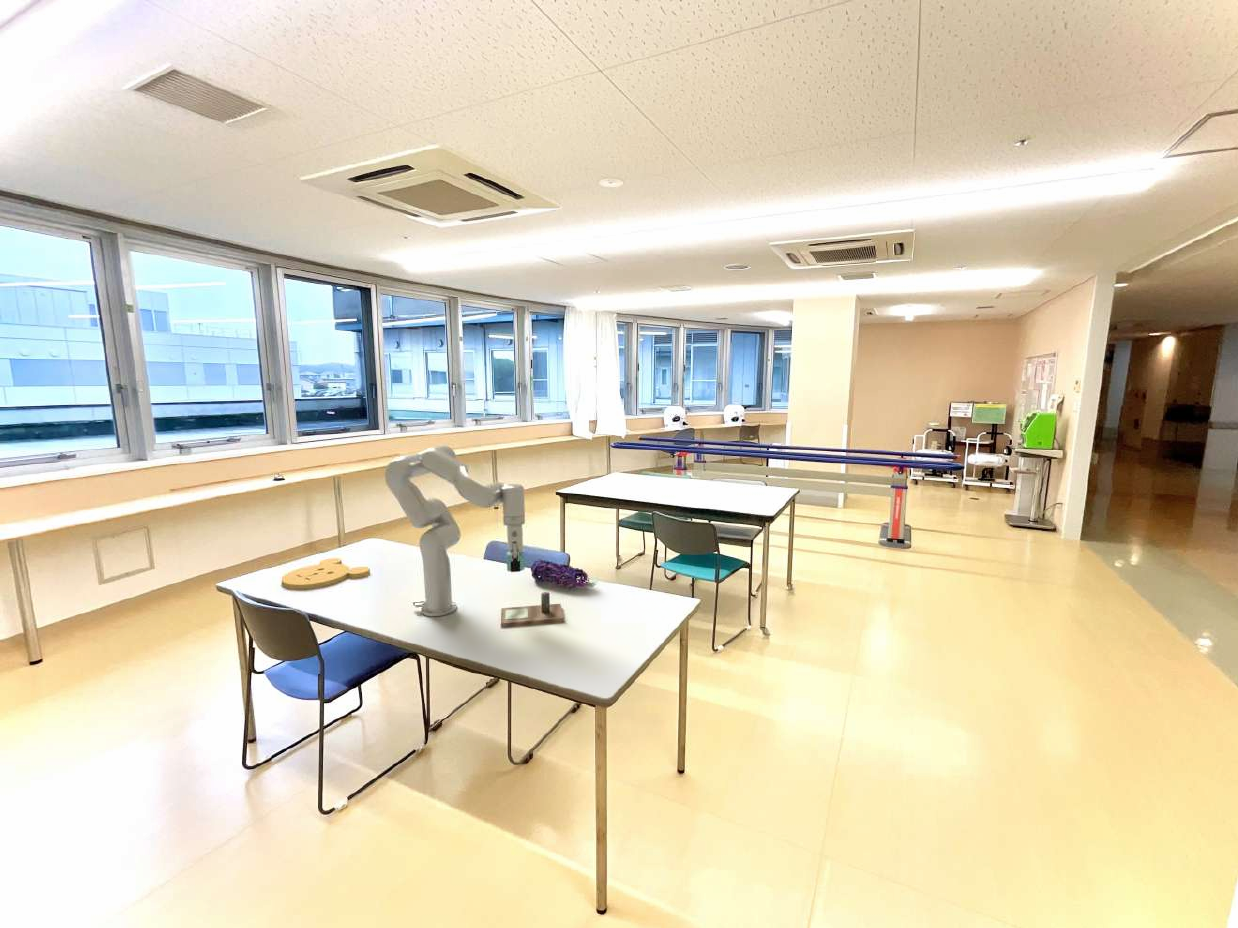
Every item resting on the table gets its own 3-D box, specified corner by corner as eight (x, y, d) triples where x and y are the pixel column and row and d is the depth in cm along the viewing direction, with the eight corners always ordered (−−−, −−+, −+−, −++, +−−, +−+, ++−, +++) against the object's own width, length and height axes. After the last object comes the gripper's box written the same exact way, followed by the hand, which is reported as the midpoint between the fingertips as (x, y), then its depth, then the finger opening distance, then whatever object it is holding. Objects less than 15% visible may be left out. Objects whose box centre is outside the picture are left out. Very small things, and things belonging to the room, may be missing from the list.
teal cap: (524, 571, 189) (523, 554, 189) (507, 572, 188) (506, 556, 187) (524, 565, 195) (523, 549, 194) (507, 566, 194) (506, 550, 193)
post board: (500, 627, 187) (500, 604, 186) (501, 611, 200) (500, 590, 198) (563, 622, 192) (563, 599, 190) (560, 607, 204) (560, 586, 203)
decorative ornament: (547, 558, 239) (603, 568, 223) (543, 582, 238) (600, 594, 222) (528, 558, 228) (586, 569, 212) (524, 583, 226) (582, 596, 211)
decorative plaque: (305, 596, 215) (374, 574, 240) (305, 590, 214) (373, 569, 239) (267, 581, 231) (335, 562, 256) (266, 575, 231) (334, 556, 256)
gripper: (525, 525, 181) (526, 576, 184) (524, 513, 198) (525, 560, 201) (502, 526, 180) (504, 577, 183) (503, 514, 197) (504, 561, 199)
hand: (515, 567), depth 192 cm, fingers closed on teal cap, 6 cm apart
